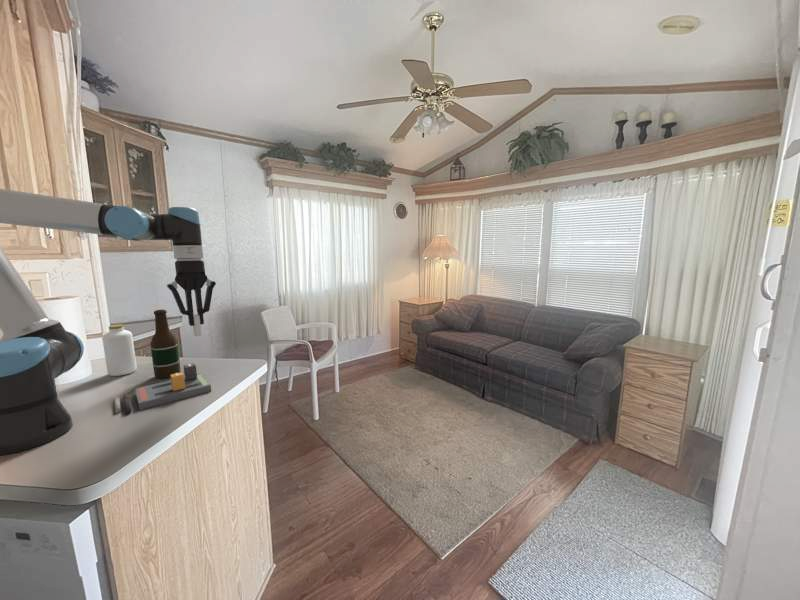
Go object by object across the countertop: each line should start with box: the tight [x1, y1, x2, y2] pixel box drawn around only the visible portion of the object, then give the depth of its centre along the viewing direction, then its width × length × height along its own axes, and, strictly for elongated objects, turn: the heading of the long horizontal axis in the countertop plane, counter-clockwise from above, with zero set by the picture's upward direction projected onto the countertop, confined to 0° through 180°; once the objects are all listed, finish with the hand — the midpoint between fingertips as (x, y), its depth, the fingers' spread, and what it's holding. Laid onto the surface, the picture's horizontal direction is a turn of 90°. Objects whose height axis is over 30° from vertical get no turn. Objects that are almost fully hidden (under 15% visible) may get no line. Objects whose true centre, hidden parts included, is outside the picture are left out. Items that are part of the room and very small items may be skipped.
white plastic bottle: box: [102, 324, 138, 377], centre depth 120 cm, size 8×8×18 cm
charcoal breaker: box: [183, 362, 198, 380], centre depth 109 cm, size 3×3×4 cm
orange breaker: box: [170, 371, 185, 391], centre depth 101 cm, size 3×3×5 cm
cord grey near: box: [113, 396, 122, 414], centre depth 94 cm, size 11×1×1 cm, turn 42°
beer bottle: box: [150, 309, 181, 380], centre depth 117 cm, size 8×8×24 cm
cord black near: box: [122, 395, 132, 415], centre depth 94 cm, size 13×1×1 cm, turn 42°
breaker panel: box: [134, 373, 212, 411], centre depth 103 cm, size 18×14×2 cm
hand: (197, 335), depth 103 cm, fingers closed
